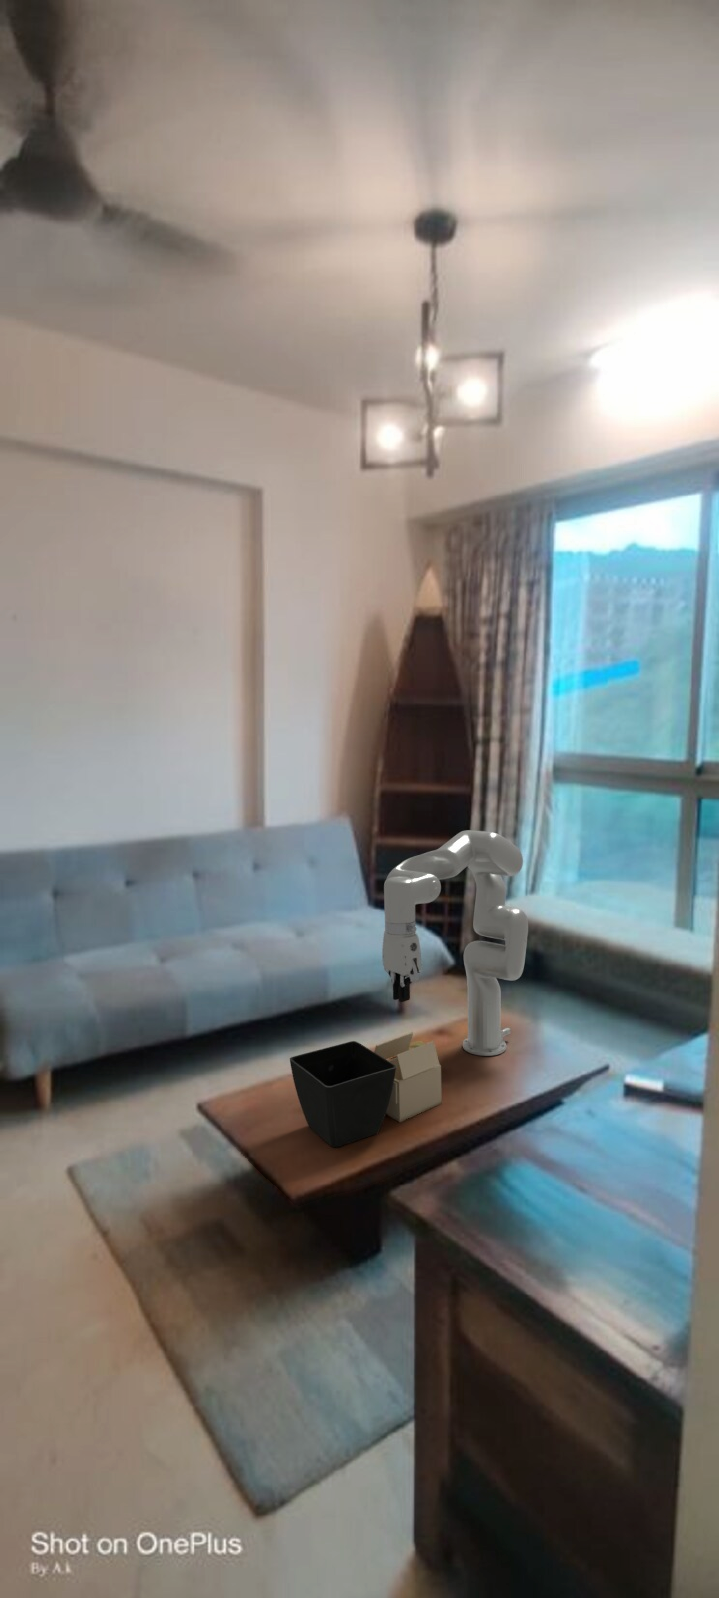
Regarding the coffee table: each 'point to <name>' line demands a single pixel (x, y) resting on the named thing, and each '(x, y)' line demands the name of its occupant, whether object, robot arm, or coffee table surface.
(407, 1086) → the shipping box
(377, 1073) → the flower pot
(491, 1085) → the coffee table surface
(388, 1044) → the far flap
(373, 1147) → the coffee table surface
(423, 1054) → the near flap
